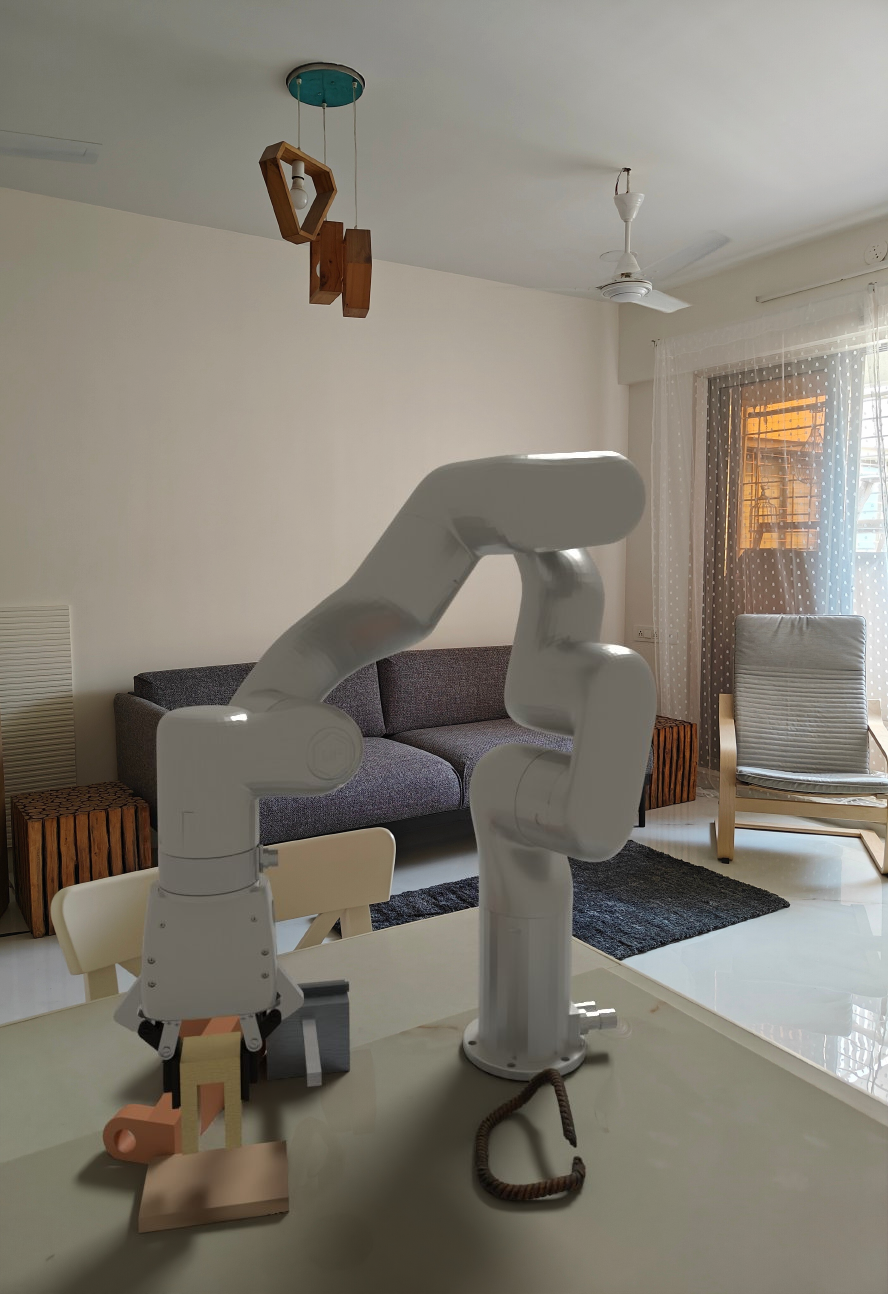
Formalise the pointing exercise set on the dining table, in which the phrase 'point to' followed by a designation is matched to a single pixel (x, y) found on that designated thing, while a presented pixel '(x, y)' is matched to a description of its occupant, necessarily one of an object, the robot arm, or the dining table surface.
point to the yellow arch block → (206, 1065)
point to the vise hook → (312, 1035)
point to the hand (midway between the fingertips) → (212, 1093)
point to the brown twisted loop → (579, 1168)
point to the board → (214, 1186)
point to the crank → (168, 1108)
